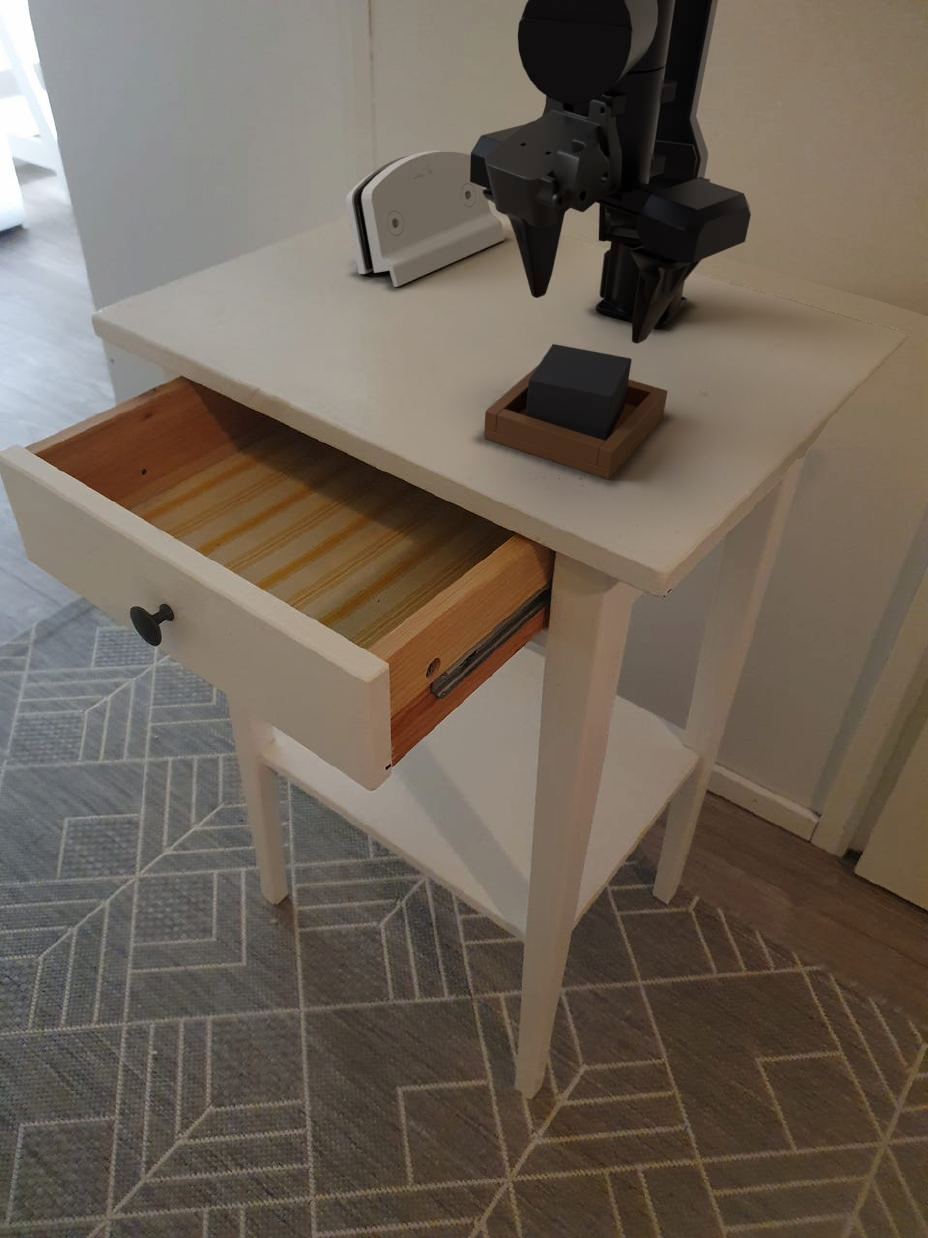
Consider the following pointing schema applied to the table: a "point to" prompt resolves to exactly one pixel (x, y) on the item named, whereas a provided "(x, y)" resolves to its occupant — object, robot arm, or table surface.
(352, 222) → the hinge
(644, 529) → the table surface
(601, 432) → the black block
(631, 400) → the shallow brown tray
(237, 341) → the table surface
